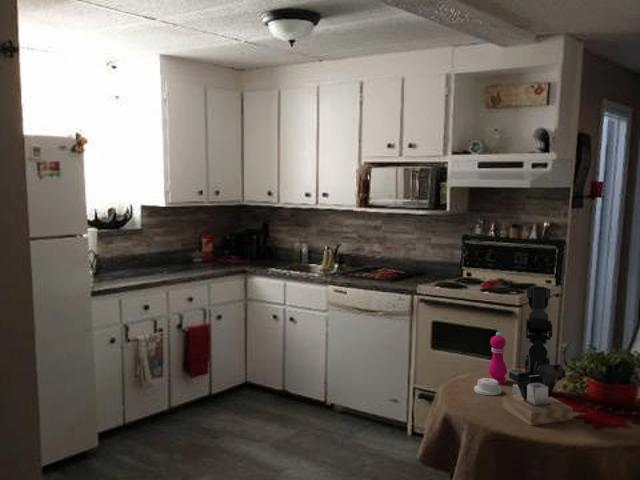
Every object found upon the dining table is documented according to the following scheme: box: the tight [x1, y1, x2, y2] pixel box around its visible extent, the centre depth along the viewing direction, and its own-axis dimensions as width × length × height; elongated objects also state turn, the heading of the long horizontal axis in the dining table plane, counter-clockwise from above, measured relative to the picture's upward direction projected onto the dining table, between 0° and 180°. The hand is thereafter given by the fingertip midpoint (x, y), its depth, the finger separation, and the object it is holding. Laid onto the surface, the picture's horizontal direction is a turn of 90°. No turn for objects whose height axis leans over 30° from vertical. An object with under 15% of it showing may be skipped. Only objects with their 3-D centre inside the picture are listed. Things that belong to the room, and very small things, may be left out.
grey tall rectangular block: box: [526, 382, 548, 407], centre depth 205 cm, size 5×5×10 cm
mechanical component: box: [473, 377, 502, 396], centre depth 229 cm, size 10×4×10 cm
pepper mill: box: [487, 331, 508, 385], centre depth 240 cm, size 7×7×20 cm
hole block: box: [502, 395, 574, 426], centre depth 205 cm, size 16×16×4 cm
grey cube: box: [511, 383, 522, 396], centre depth 220 cm, size 5×5×5 cm
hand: (536, 398), depth 205 cm, fingers open, 9 cm apart
